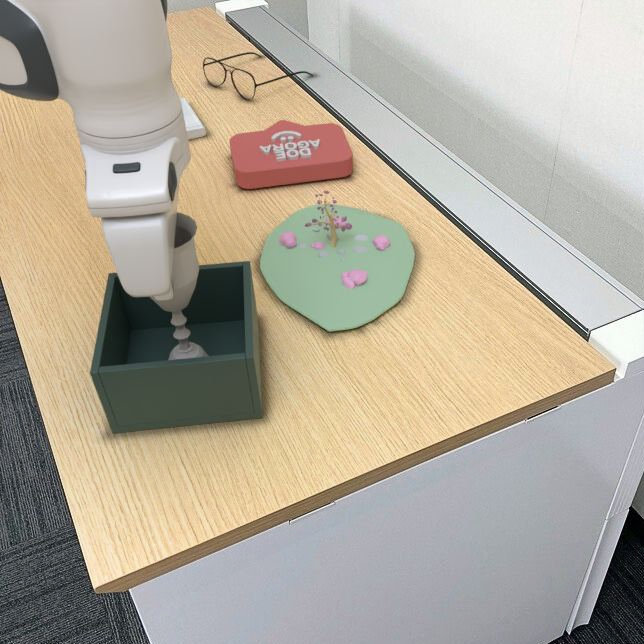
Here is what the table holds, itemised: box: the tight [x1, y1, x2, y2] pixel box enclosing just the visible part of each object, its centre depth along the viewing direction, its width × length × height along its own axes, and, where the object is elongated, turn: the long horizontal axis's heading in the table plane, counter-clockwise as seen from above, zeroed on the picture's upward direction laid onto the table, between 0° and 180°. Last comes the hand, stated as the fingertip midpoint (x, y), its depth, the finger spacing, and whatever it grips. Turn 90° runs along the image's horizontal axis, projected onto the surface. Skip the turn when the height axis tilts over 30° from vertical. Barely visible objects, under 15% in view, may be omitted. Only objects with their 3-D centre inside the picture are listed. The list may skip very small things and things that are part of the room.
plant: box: [259, 190, 416, 333], centre depth 93 cm, size 25×21×9 cm
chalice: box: [150, 211, 209, 360], centre depth 76 cm, size 7×7×18 cm
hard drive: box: [179, 97, 207, 141], centre depth 124 cm, size 2×8×12 cm
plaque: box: [228, 119, 354, 190], centre depth 114 cm, size 18×4×15 cm
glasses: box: [202, 51, 314, 101], centre depth 137 cm, size 14×15×5 cm
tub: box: [89, 260, 264, 434], centre depth 79 cm, size 16×16×9 cm
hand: (167, 272), depth 73 cm, fingers closed on chalice, 6 cm apart
